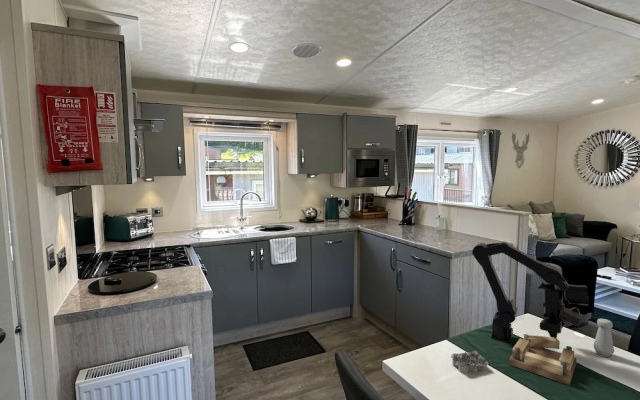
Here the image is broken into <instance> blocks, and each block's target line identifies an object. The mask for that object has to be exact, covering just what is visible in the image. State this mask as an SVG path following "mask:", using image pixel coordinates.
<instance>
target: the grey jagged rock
mask: <svg viewBox="0 0 640 400" xmlns="http://www.w3.org/2000/svg"><path fill="white" fill-rule="evenodd" d="M450 358H451V359H452V363H451V364H452V366H453V367H455V368H458V369H457V370H458V372H460V373H462V374H469V372H473V373H477V371H479V370H480V371H482V372H485V371H486V368H487V366H488V364H489V362H488V361H486V358H484V357H483V356H482V355H481V354H479V353H478V351H477V350H474V351H471V352H469V351H468V352H465V351H464V352H461V353H452V354H451V356H450Z"/></svg>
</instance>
